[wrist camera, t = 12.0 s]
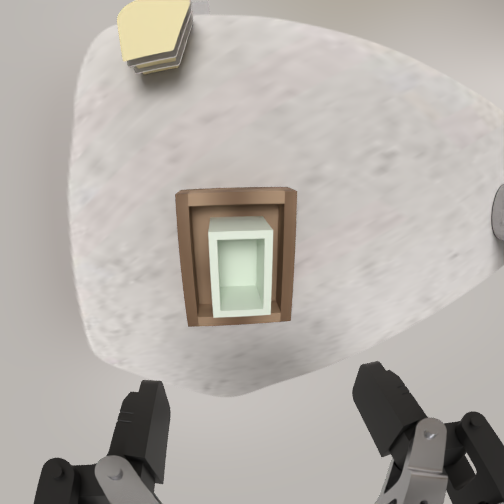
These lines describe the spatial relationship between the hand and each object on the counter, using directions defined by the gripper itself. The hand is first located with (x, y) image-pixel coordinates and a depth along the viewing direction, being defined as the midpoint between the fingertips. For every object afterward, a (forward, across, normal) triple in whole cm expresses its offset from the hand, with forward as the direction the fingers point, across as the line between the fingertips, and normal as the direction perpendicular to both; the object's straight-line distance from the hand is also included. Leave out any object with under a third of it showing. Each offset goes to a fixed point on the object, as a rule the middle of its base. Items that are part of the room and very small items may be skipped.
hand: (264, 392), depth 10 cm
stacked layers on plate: (+18, +7, -20) cm, 28 cm away
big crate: (+17, 0, 0) cm, 17 cm away
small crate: (+16, 0, 0) cm, 17 cm away
